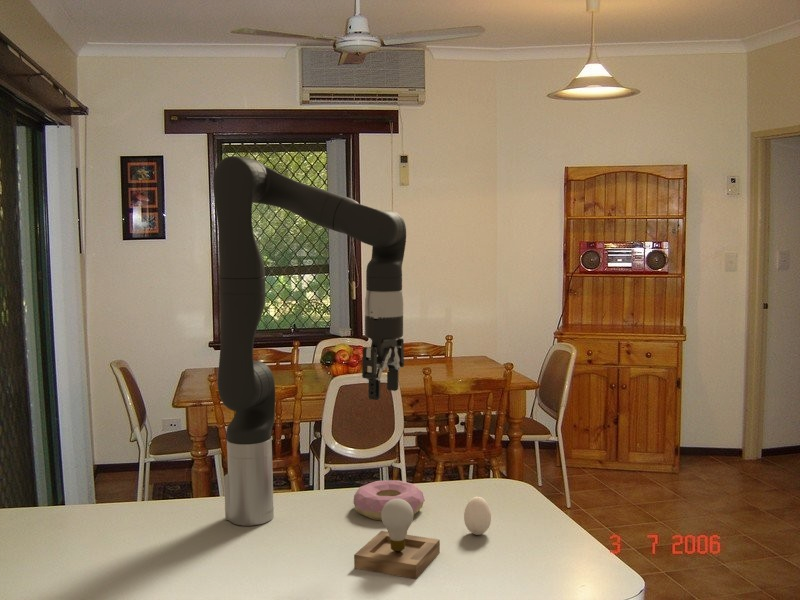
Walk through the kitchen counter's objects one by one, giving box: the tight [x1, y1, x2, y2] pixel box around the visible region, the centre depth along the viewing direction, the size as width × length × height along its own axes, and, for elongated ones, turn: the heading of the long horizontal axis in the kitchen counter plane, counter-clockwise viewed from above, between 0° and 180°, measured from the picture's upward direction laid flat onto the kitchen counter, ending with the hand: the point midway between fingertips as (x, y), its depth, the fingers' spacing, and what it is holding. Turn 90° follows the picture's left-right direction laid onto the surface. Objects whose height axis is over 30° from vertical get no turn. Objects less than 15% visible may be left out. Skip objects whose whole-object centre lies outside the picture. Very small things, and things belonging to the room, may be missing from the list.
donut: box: [353, 479, 426, 521], centre depth 173 cm, size 16×15×5 cm
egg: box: [463, 496, 492, 536], centre depth 159 cm, size 5×5×8 cm
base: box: [353, 530, 441, 580], centre depth 148 cm, size 12×12×2 cm
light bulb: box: [381, 499, 414, 553], centre depth 147 cm, size 6×6×10 cm
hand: (383, 394), depth 158 cm, fingers open, 8 cm apart
